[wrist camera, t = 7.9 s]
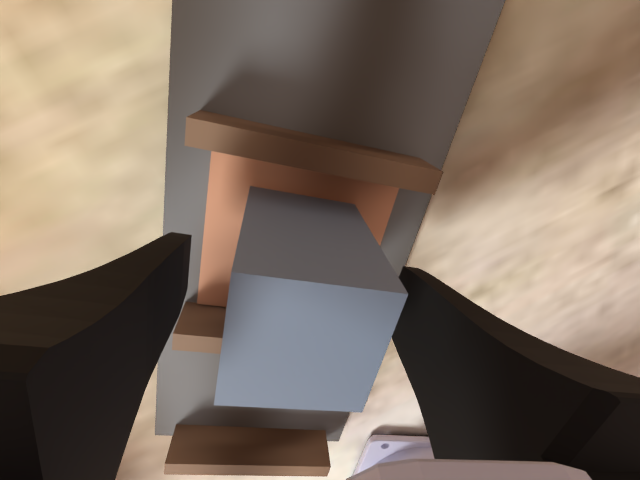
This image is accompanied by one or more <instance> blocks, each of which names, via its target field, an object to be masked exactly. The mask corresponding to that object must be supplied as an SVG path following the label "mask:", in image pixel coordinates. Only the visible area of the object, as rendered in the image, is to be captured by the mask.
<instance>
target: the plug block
mask: <svg viewBox="0 0 640 480" xmlns="http://www.w3.org/2000/svg"><path fill="white" fill-rule="evenodd" d="M407 296H408V293H407V291H406V289H405V288H404V286H403V284H402V283H401V281H400V279H399V278H398V276H397V274H396V273H395V271H394V269H393V268H392V266H391V264H390V263H389V261H388V259H387V258H386V256H385V254H384V252H383V251H382V249H381V247H380V246H379V244H378V242H377V241H376V239H375V237H374V236H373V234H372V232H371V231H370V229H369V227H368V226H367V224H366V222H365V221H364V219H363V217H362V216H361V214H360V212H359V211H358V209H357V207H356V206H355V204H351V203H345V202H339V201H334V200H328V199H322V198H317V197H311V196H305V195H299V194H294V193H288V192H282V191H277V190H271V189H265V188H259V187H254V186H250V189H249V193H248V198H247V202H246V207H245V211H244V216H243V221H242V225H241V230H240V234H239V239H238V243H237V248H236V252H235V257H234V262H233V266H232V271H231V277H230V285H229V293H228V300H227V308H226V316H225V323H224V331H223V339H222V346H221V354H220V362H219V369H218V377H217V385H216V392H215V400H214V405H219V406H240V407H261V408H281V409H302V410H323V411H344V412H362V411H363V409H364V406H365V404H366V401H367V399H368V396H369V393H370V391H371V388H372V386H373V383H374V381H375V378H376V376H377V373H378V370H379V368H380V365H381V363H382V360H383V358H384V355H385V353H386V350H387V347H388V345H389V342H390V340H391V337H392V335H393V332H394V330H395V327H396V324H397V322H398V319H399V317H400V314H401V312H402V309H403V307H404V304H405V301H406V299H407Z"/></svg>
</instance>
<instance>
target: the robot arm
mask: <svg viewBox="0 0 640 480" xmlns="http://www.w3.org/2000/svg"><path fill="white" fill-rule="evenodd" d="M191 238H192V235H189V234H182V233H175V232H170V233H168V234H166V235H164V236H162V237H160V238H158V239H156V240H154V241H152V242H150V243H149V244H147V245H145V246H143V247H141V248H139V249H137V250H135V251H133V252H131V253H129V254H127V255H125V256H122V257H120V258H118V259H116V260H113V261H111V262H109V263H107V264H105V265H102V266H100V267H97V268H95V269H92V270H90V271H87V272H84V273H81V274H79V275H76V276H73V277H70V278H67V279H64V280H60V281H57V282H54V283H50V284H46V285H42V286H39V287H35V288H31V289H27V290H24V291H20V292H16V293H12V294H7V295H2V296H0V480H115V478H116V475H117V472H118V469H119V465H120V462H121V459H122V456H123V453H124V450H125V447H126V444H127V441H128V438H129V435H130V432H131V429H132V426H133V423H134V420H135V417H136V415H137V412H138V409H139V406H140V403H141V400H142V397H143V395H144V392H145V389H146V387H147V384H148V382H149V379H150V377H151V375H152V372H153V370H154V368H155V366H156V364H157V362H158V360H159V358H160V356H161V353H162V351H163V349H164V347H165V345H166V343H167V341H168V339H169V337H170V334H171V332H172V330H173V328H174V326H175V324H176V322H177V319H178V317H179V315H180V312H181V309H182V306H183V302H184V299H185V296H186V292H187V289H188V276H189V263H190V251H191ZM399 279H400V281H401V283H402V284H403V286H404V288H405V289H406V291H407V293H408V296H407V299H406V301H405V304H404V307H403V309H402V312H401V314H400V317H399V319H398V322H397V324H396V327H395V330H394V332H393V335H392V339H393V342H394V344H395V347H396V349H397V352H398V354H399V357H400V359H401V361H402V364H403V366H404V368H405V371H406V373H407V376H408V378H409V380H410V383H411V385H412V388H413V390H414V392H415V395H416V398H417V400H418V403H419V406H420V409H421V413H422V416H423V419H424V423H425V426H426V429H427V433H428V436H429V437H425V436H399V435H373V436H371V437H370V438H369V439H368V441H367V444H366V446H365V448H364V451H363V453H362V455H361V458H360V460H359V462H358V465H357V467H356V469H355V472H354V474H353V476H351V477H349V478H347V479H346V480H640V378H639V377H636V376H633V375H629V374H626V373H623V372H620V371H617V370H614V369H611V368H608V367H606V366H603V365H600V364H598V363H595V362H592V361H590V360H587V359H584V358H582V357H579V356H577V355H574V354H572V353H569V352H567V351H565V350H562V349H560V348H558V347H556V346H553V345H551V344H549V343H547V342H544V341H542V340H540V339H538V338H536V337H534V336H532V335H530V334H528V333H526V332H524V331H522V330H520V329H518V328H516V327H514V326H512V325H510V324H508V323H507V322H505V321H503V320H501V319H500V318H498V317H496V316H494V315H493V314H491V313H490V312H488V311H486V310H485V309H483V308H481V307H480V306H478V305H476V304H475V303H473V302H472V301H470V300H469V299H467V298H466V297H464V296H463V295H461V294H460V293H458V292H457V291H455V290H454V289H452V288H451V287H449V286H448V285H446V284H445V283H443V282H441V281H440V280H438V279H437V278H435V277H434V276H432V275H430V274H429V273H427V272H425V271H423V270H421V269H419V268H413V267H406V266H403V267H402V270H401V273H400V275H399Z"/></svg>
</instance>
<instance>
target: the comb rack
mask: <svg viewBox="0 0 640 480" xmlns="http://www.w3.org/2000/svg"><path fill="white" fill-rule="evenodd" d="M504 3H505V0H172V23H171V47H170V72H169V97H168V122H167V147H166V172H165V197H164V221H163V236H164V235H166V234H168V233H170V232H175V233H182V234H189V235H192V238H191V251H190V263H189V276H188V289H187V292H186V296H185V299H184V302H183V306H182V309H181V312H180V315H179V317H178V319H177V322H176V324H175V326H174V328H173V330H172V332H171V334H170V337H169V339H168V341H167V343H166V345H165V347H164V349H163V351H162V353H161V356H160V358H159V360H158V371H157V395H156V420H155V435H170V436H173V437H172V440H171V444H170V447H169V451H168V455H167V458H166V462H165V470H164V474H179V475H258V476H327V475H328V472H329V470H330V467H331V466H330V459H329V452H328V445H327V441H339V439H340V436H341V434H342V431H343V428H344V426H345V423H346V420H347V418H348V415H349V412H344V411H323V410H302V409H281V408H261V407H240V406H219V405H214V400H215V392H216V385H217V377H218V369H219V362H220V354H221V346H222V339H223V331H224V323H225V316H226V308H227V300H228V293H229V285H230V277H231V271H232V266H233V262H234V257H235V252H236V248H237V243H238V239H239V234H240V230H241V225H242V221H243V216H244V211H245V207H246V202H247V198H248V193H249V189H250V186H254V187H259V188H265V189H271V190H277V191H282V192H288V193H294V194H299V195H305V196H311V197H317V198H322V199H328V200H334V201H339V202H345V203H351V204H355V206H356V207H357V209H358V211H359V212H360V214H361V216H362V217H363V219H364V221H365V222H366V224H367V226H368V227H369V229H370V231H371V232H372V234H373V236H374V237H375V239H376V241H377V242H378V244H379V246H380V247H381V249H382V251H383V252H384V254H385V256H386V258H387V259H388V261H389V263H390V264H391V266H392V268H393V269H394V271H395V273H396V274H397V276H398V278H399V275H400V273H401V270H402V267H403V266H405V264H406V262H407V259H408V256H409V254H410V251H411V248H412V246H413V243H414V241H415V238H416V235H417V233H418V230H419V227H420V225H421V222H422V219H423V217H424V214H425V211H426V209H427V206H428V204H429V201H430V198H431V196H432V194H433V195H435V192H436V189H437V187H438V184H439V182H440V179H441V176H442V174H443V171H441V169H442V167H443V164H444V161H445V159H446V156H447V153H448V151H449V148H450V145H451V143H452V140H453V137H454V135H455V132H456V130H457V127H458V124H459V122H460V119H461V116H462V114H463V111H464V108H465V106H466V103H467V100H468V98H469V95H470V93H471V90H472V87H473V85H474V82H475V79H476V77H477V74H478V71H479V69H480V66H481V63H482V61H483V58H484V56H485V53H486V50H487V48H488V45H489V42H490V40H491V37H492V34H493V32H494V29H495V26H496V24H497V21H498V18H499V16H500V13H501V11H502V8H503V5H504Z"/></svg>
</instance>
